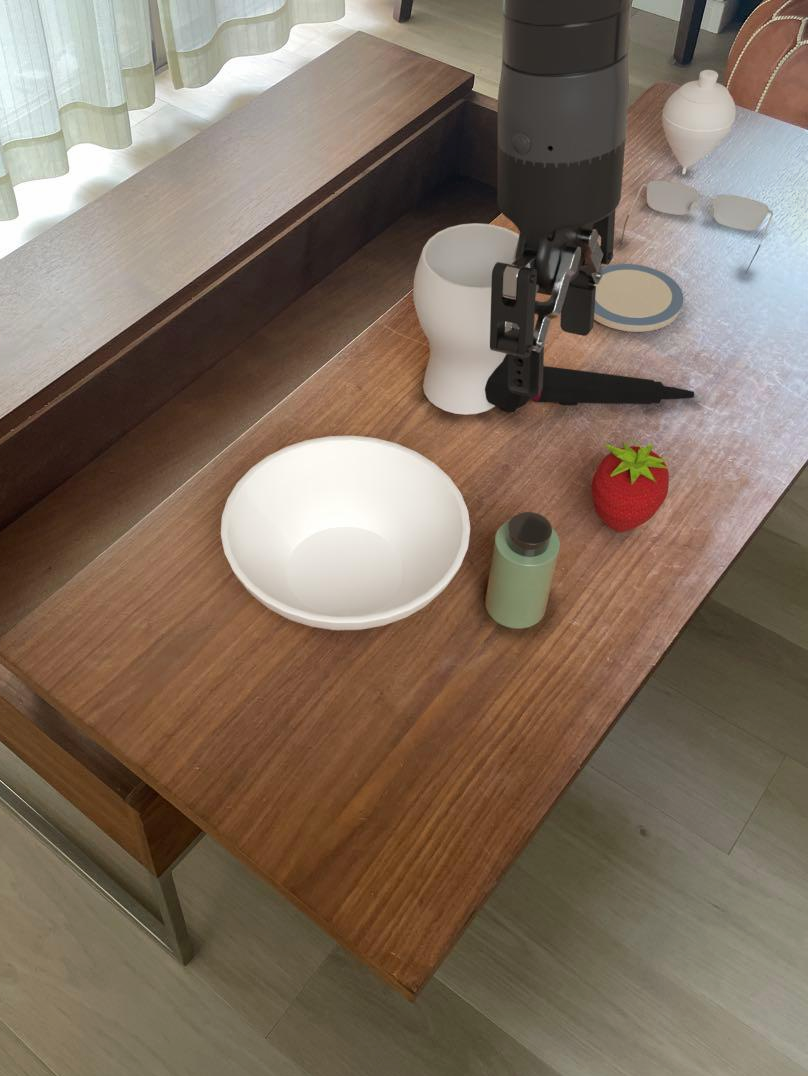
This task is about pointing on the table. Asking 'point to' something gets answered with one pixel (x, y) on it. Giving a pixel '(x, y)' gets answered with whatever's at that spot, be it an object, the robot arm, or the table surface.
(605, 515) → the strawberry
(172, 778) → the table surface
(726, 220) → the eyeglasses
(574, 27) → the robot arm
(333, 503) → the bowl
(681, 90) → the spinning top
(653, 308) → the saucer
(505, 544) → the pepper shaker
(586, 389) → the microphone
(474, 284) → the cup
